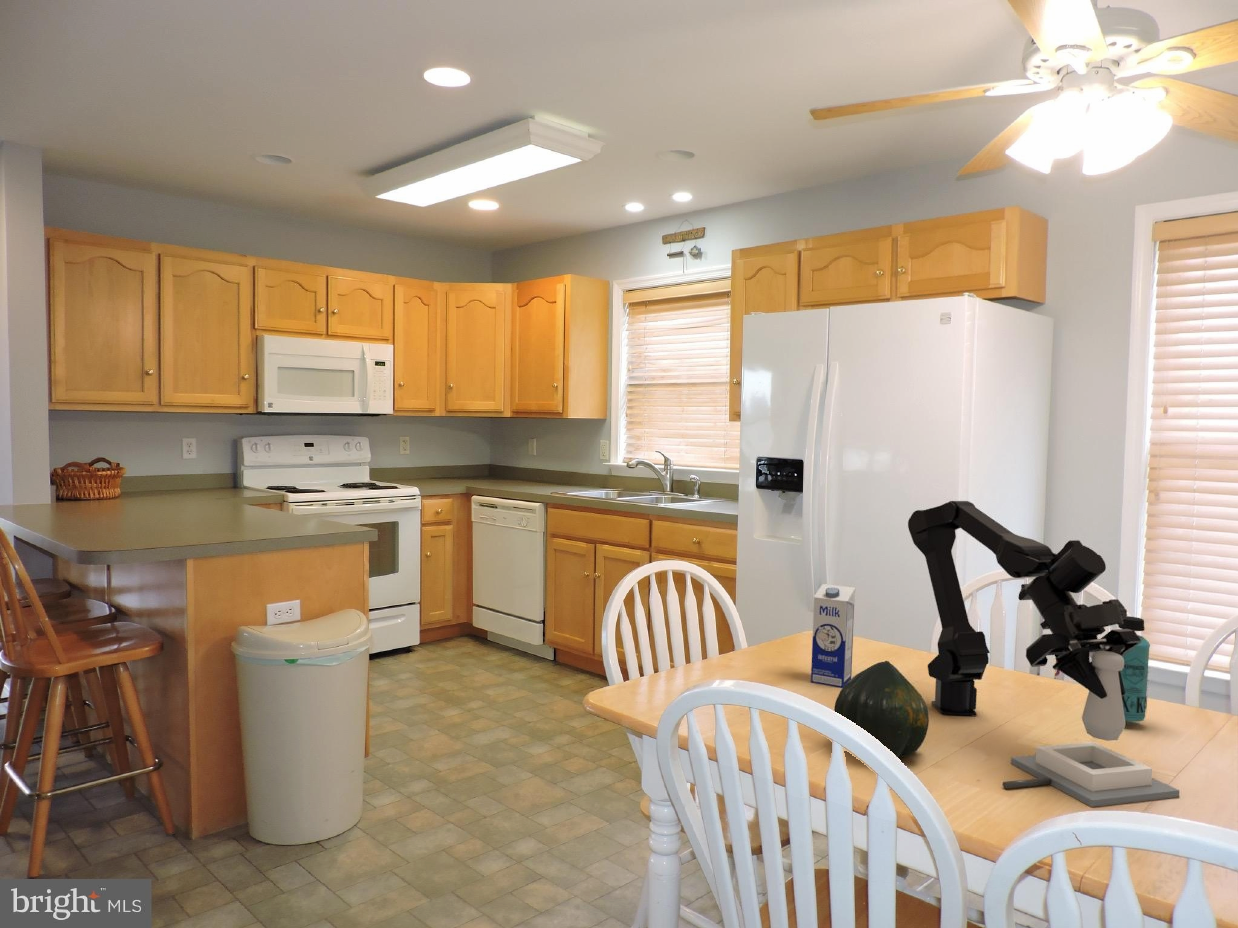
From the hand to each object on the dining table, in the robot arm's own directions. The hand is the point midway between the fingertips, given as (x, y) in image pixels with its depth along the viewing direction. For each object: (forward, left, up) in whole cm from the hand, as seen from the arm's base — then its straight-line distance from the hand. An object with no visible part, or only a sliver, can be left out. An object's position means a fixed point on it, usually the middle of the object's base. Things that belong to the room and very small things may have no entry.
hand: (1113, 696), depth 129 cm
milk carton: (-32, +48, -13) cm, 59 cm away
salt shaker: (-1, +1, -7) cm, 7 cm away
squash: (-32, +10, -13) cm, 36 cm away
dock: (-6, -1, -13) cm, 15 cm away
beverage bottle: (+18, +28, -13) cm, 35 cm away
